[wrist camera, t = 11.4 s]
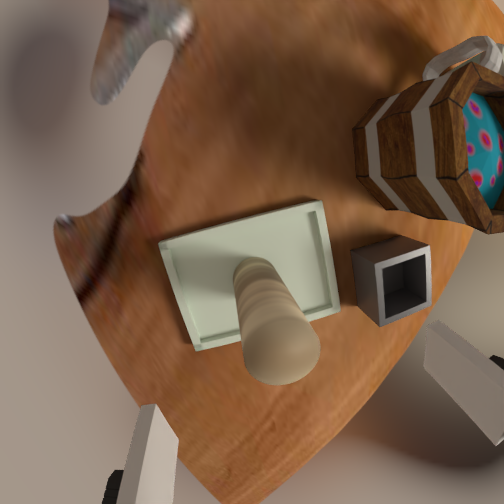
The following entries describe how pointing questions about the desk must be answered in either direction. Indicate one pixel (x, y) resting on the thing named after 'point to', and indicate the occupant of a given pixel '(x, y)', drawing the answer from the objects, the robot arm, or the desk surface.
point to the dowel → (272, 325)
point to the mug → (440, 142)
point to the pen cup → (392, 278)
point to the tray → (243, 247)
